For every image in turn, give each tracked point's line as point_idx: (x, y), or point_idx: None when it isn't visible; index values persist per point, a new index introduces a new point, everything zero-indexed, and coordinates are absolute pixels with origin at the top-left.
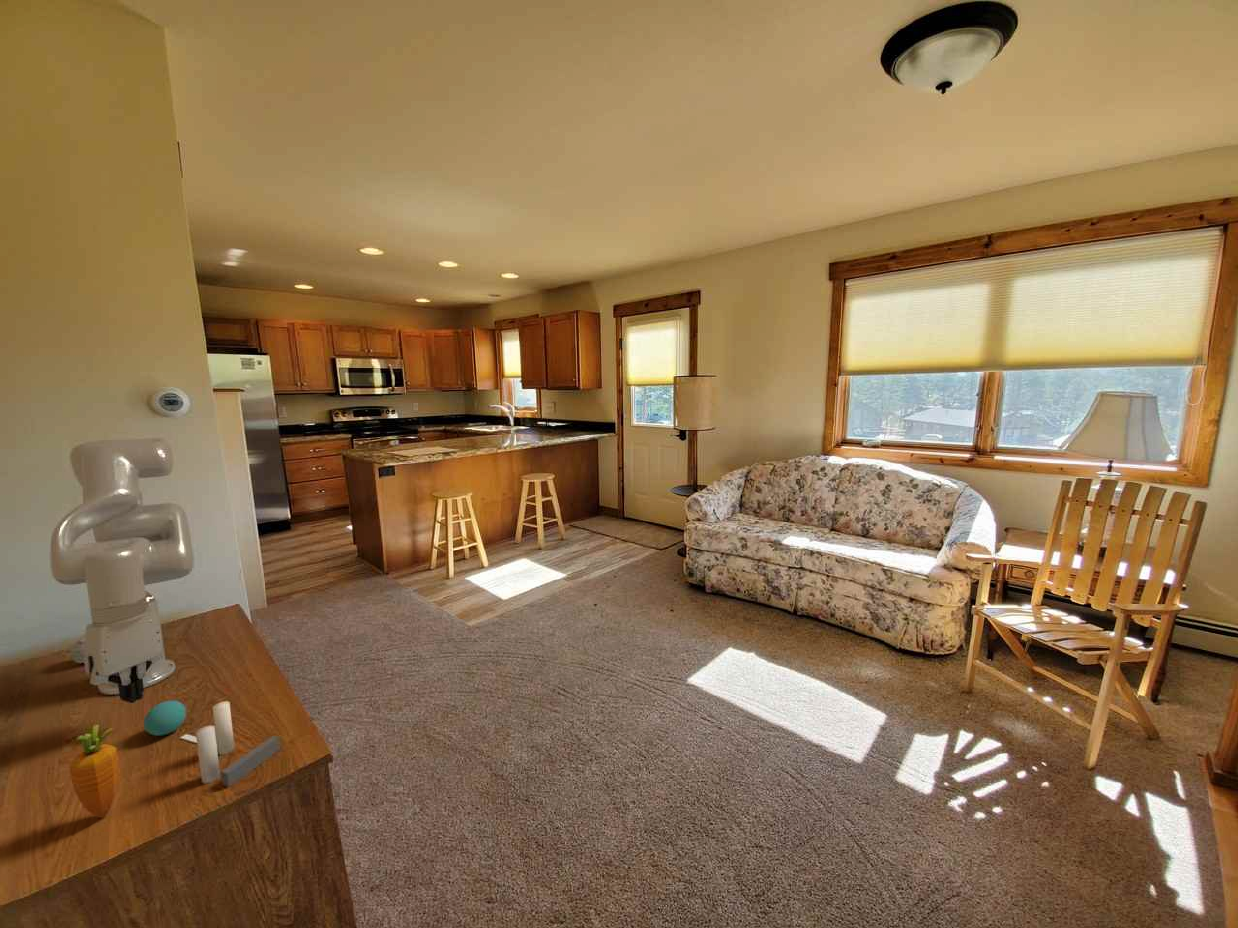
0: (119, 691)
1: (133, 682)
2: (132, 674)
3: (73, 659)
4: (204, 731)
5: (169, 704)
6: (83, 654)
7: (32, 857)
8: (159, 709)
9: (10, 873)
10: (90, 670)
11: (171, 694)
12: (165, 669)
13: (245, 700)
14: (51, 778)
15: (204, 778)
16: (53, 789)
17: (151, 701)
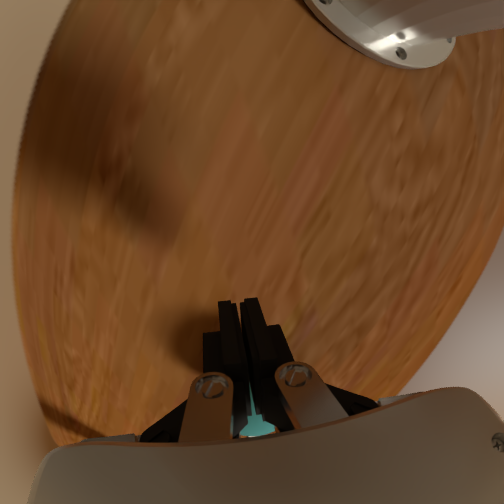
0: (203, 357)
1: (250, 413)
2: (277, 408)
3: None
4: None
5: (264, 432)
6: None
7: (61, 431)
8: (240, 433)
9: (49, 430)
10: (59, 457)
11: (371, 182)
12: (434, 43)
13: (373, 375)
14: (58, 316)
15: None
16: (62, 352)
17: (328, 161)
